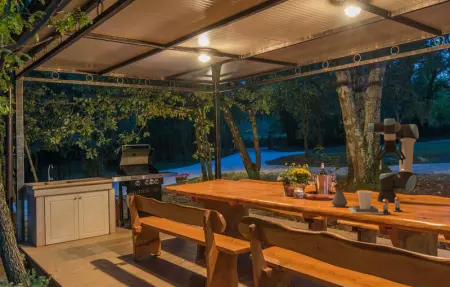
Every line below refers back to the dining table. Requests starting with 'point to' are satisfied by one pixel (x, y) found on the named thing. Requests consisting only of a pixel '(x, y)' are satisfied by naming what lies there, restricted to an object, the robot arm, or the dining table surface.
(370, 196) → the foam cup
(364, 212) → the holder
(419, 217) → the dining table surface
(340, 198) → the coffee pot
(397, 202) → the pegs
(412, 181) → the robot arm
